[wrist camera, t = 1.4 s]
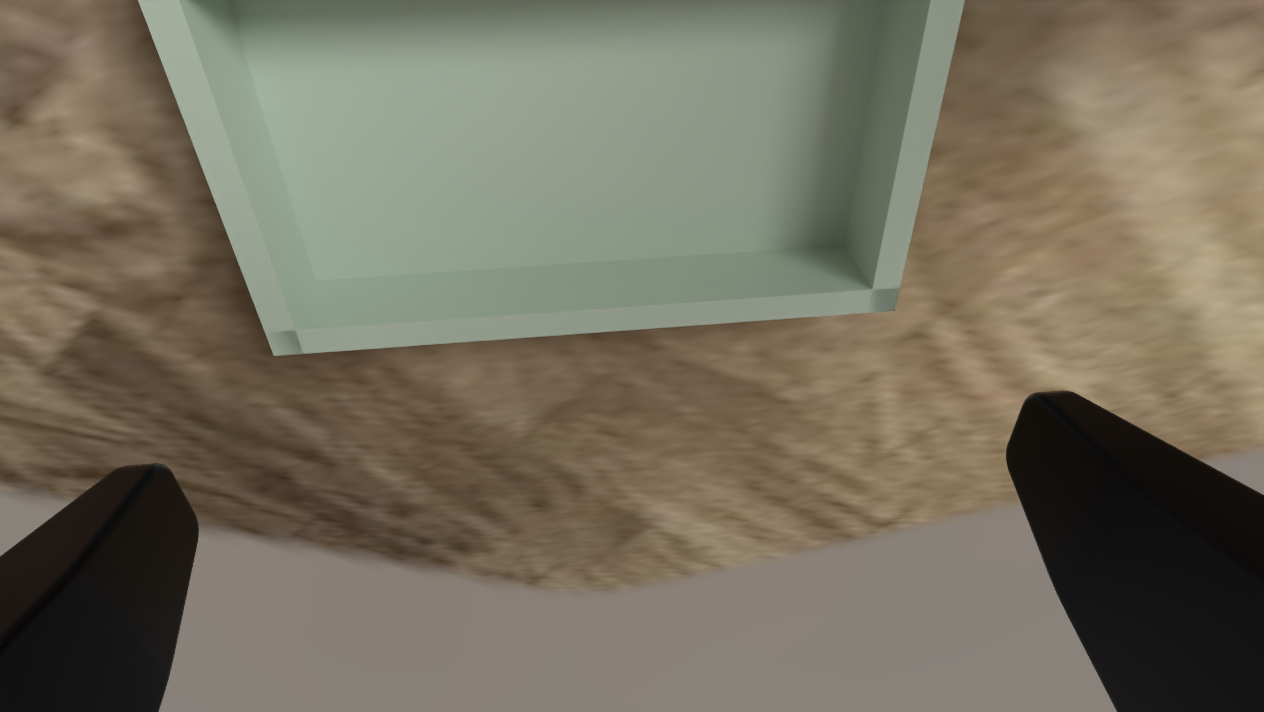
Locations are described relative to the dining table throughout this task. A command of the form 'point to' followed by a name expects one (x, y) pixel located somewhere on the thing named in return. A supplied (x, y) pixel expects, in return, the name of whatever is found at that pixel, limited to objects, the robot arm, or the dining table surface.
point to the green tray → (557, 159)
